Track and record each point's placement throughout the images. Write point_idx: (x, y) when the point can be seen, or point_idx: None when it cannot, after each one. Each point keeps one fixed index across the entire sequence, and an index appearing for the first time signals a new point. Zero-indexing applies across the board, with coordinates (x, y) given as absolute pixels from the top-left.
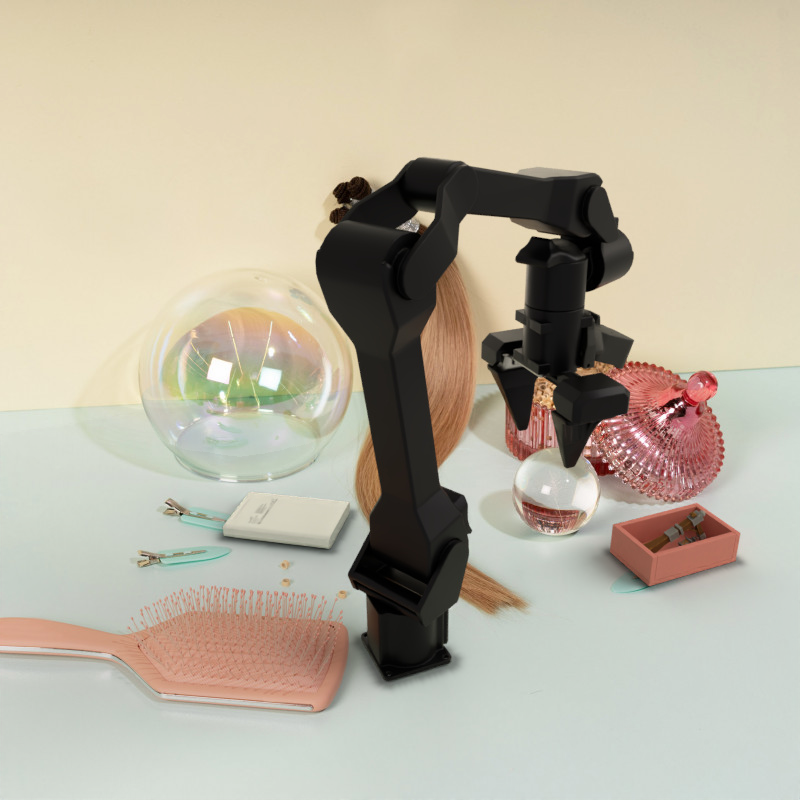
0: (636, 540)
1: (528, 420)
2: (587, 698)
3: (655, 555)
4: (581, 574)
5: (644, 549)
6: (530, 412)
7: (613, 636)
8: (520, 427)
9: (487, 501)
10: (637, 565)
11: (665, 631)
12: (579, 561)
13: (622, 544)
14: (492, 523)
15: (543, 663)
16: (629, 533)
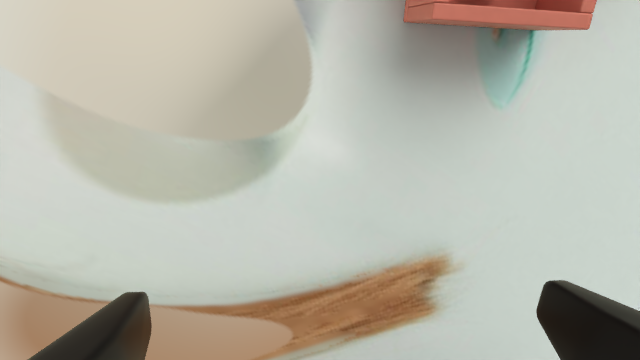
0: (520, 14)
1: (130, 325)
2: (630, 277)
3: (587, 15)
4: (431, 129)
5: (557, 24)
6: (104, 351)
7: (580, 180)
8: (144, 338)
9: (89, 161)
10: (510, 27)
11: (628, 95)
12: (395, 106)
13: (463, 23)
14: (189, 195)
15: None
16: (486, 6)
